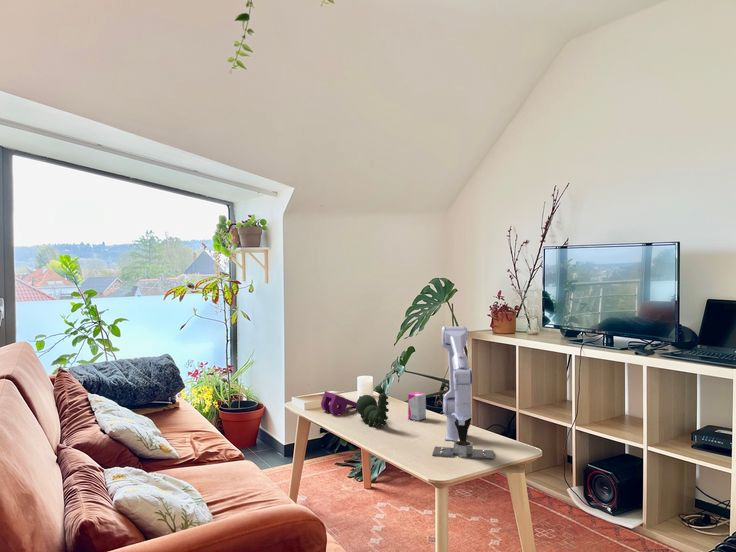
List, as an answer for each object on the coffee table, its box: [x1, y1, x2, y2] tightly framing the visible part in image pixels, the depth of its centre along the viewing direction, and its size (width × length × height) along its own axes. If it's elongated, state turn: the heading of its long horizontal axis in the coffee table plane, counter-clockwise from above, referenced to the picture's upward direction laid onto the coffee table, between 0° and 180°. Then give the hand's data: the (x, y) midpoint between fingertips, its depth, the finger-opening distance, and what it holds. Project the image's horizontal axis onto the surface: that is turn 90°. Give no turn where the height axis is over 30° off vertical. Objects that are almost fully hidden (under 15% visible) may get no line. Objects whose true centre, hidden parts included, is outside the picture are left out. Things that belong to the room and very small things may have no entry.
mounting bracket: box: [320, 391, 357, 416], centre depth 266 cm, size 9×8×18 cm
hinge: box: [432, 440, 495, 461], centre depth 206 cm, size 21×8×4 cm, turn 77°
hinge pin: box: [458, 435, 468, 446], centre depth 206 cm, size 3×3×8 cm
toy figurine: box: [355, 385, 390, 427], centre depth 246 cm, size 9×19×25 cm
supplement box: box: [407, 391, 427, 422], centre depth 251 cm, size 6×6×12 cm
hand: (463, 439), depth 206 cm, fingers closed on hinge pin, 3 cm apart
